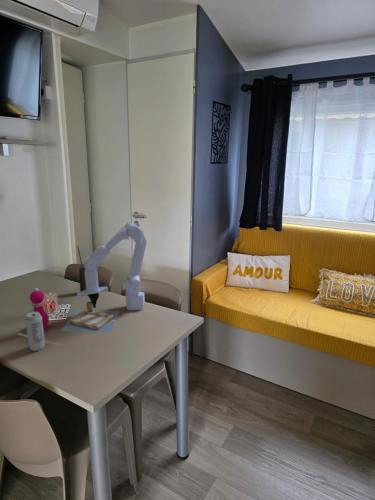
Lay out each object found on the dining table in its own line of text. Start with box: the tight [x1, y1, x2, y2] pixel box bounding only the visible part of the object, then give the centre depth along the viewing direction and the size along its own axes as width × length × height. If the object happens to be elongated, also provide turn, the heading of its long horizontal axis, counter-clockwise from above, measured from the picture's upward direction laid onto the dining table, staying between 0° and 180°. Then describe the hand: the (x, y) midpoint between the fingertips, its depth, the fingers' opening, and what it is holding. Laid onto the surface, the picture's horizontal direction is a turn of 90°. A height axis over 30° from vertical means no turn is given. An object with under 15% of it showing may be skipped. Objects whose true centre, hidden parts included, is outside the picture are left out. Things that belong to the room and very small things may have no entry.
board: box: [60, 310, 120, 333], centre depth 157 cm, size 22×20×1 cm
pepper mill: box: [29, 287, 50, 331], centre depth 148 cm, size 7×7×20 cm
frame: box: [68, 301, 114, 329], centre depth 156 cm, size 16×12×6 cm
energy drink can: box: [24, 311, 46, 352], centre depth 134 cm, size 6×6×15 cm
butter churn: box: [77, 245, 86, 292], centre depth 187 cm, size 9×10×28 cm
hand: (94, 307), depth 164 cm, fingers closed
